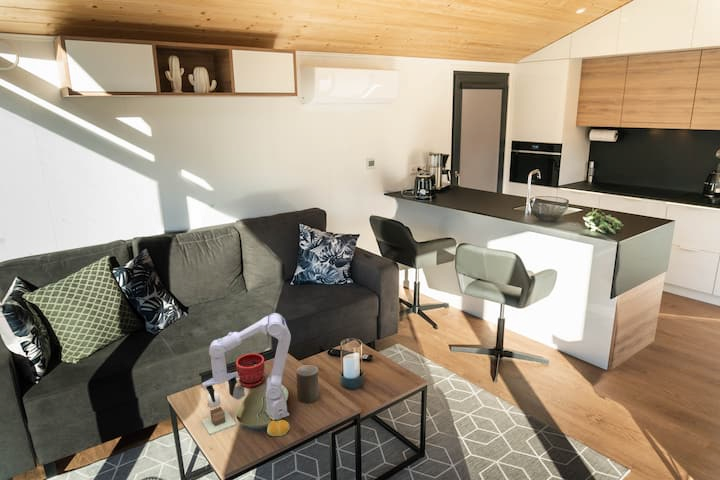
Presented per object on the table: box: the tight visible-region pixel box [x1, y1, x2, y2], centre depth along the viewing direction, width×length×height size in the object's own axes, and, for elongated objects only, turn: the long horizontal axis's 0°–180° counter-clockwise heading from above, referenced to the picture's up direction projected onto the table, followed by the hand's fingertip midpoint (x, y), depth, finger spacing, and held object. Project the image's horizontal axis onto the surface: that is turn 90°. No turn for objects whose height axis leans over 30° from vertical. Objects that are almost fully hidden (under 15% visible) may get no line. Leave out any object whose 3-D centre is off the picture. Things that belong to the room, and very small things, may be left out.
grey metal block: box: [231, 385, 246, 400], centre depth 223 cm, size 4×4×4 cm
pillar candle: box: [295, 364, 320, 404], centre depth 220 cm, size 10×10×15 cm
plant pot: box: [235, 353, 266, 388], centre depth 234 cm, size 13×13×12 cm
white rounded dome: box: [206, 390, 221, 408], centre depth 218 cm, size 5×5×5 cm
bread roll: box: [266, 419, 290, 437], centre depth 199 cm, size 8×9×4 cm
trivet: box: [201, 410, 237, 436], centre depth 205 cm, size 11×11×1 cm
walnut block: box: [209, 406, 226, 426], centre depth 204 cm, size 4×4×5 cm
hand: (222, 397), depth 205 cm, fingers open, 7 cm apart
